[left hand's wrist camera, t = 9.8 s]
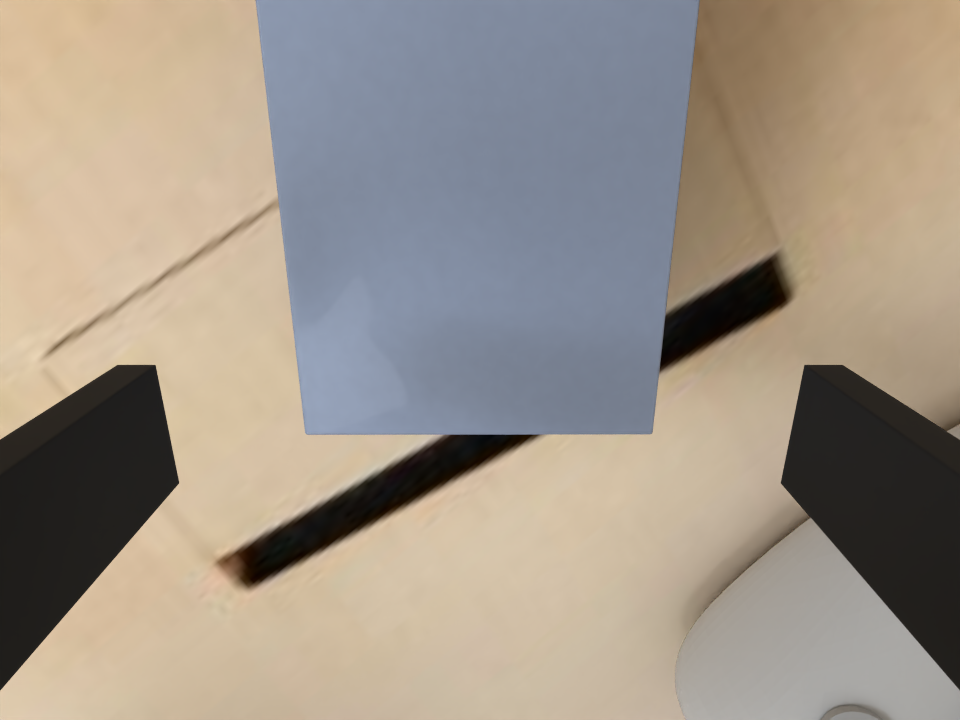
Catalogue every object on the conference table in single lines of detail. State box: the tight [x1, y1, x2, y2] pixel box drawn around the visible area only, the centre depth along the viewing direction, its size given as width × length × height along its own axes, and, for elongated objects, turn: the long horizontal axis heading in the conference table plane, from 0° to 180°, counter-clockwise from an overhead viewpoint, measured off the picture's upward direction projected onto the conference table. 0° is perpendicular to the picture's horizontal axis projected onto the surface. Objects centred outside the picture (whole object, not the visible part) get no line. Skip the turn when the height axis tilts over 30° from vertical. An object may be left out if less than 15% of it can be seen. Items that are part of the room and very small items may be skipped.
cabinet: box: [256, 0, 700, 435], centre depth 20 cm, size 20×11×10 cm, turn 0°
